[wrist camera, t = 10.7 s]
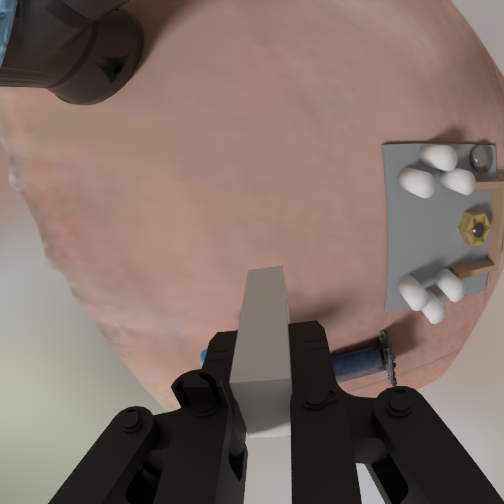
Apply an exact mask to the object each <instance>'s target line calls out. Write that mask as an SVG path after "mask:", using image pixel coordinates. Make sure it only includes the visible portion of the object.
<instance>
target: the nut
mask: <svg viewBox="0 0 504 504" xmlns="http://www.w3.org/2000/svg"><path fill="white" fill-rule="evenodd" d="M457 228H458V230H459V233H460V235H461V237H462V239H463V241H464V242H466V243H467V244H469V245H470V246H476V245H480V244H484V242H485V240H486V237H487V235H488V233H489V230H490V225H489V222H488V219H487V217H486V214H485V213H483V212H481V211H478V210H470V211H464V213H463V215H462V218H461V220H460V222H459V225H458V227H457Z"/></svg>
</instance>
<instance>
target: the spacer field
mask: <svg viewBox="0 0 504 504" xmlns="http://www.w3.org/2000/svg"><path fill="white" fill-rule="evenodd" d="M475 145H480V144H452V143H412V144H383V145H382V153H383V163H384V175H385V190H386V212H387V272H386V294H385V309H384V310H385V312H386V313H389V312H394V311H399V310H404V309H409V308H412V309H413V310H415V311H419V310H422V311H423V313H424V314H425V315H426V317H427V318H428V319H429V321H430V322H431V323H433V324H436V323H439V322H440V321H442V320H443V319H444V317H445V315H446V312H447V310H446V307H445V306H444V305H443V304H442V303H441V301H445V300H449V299H450V300H451V301H453V302H457V301H459V300H460V299H461V298H462V297H463V296H465V295H469V294H473V293H477V292H480V291H484V290H485V287H486V282H487V276H488V272H492V271H496V270H498V267H499V261H500V255H501V248H502V240H503V232H504V181H503V180H500V179H497V178H496V147H495V146H494V145H484V146H486V147H488V148H489V150H490V152H491V154H492V166H491V169H490V170H489V171H488V172H487V173H480V172H477V171H475V170H474V169H473V168H472V166H471V164H470V159H469V156H470V151H471V149H472V147H473V146H475ZM470 210H478V211H481V212H483V213H485V214H486V217H487V219H488V222H489V225H490V230H489V233H488V235H487V237H486V240H485V242H484V244H480V245H476V246H470V245H469V244H467V243H466V242H464V241H463V239H462V237H461V235H460V233H459V230H458V228H457V227H458V225H459V222H460V220H461V218H462V215H463V213H464V211H470Z"/></svg>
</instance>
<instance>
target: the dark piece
mask: <svg viewBox="0 0 504 504" xmlns="http://www.w3.org/2000/svg"><path fill="white" fill-rule="evenodd" d="M379 335H380V342H381V344H380V346H379V347H376V346H372V347H368V348H365V349H361V350H358V351H354V352H349V353H346V354H342V355H337V356H333V357H331V359H332V364H333V368H334V373H335V377H336V381H337V383H338V382H343V381H347V380H351V379H355V378H359V377H363V376H367V375H371V374H374V373H378V372H381V371H384V370H386V371H387V373H388V374H389V375H388V376H389V378H388V379H389V380H390V384H392V385H393V386H396V385H397V382H396V378H395V372H394V368H395V367H396V363H394V362H393V361H394V360H395V358H396V357H395V356H394V355H393V354H391V352H392V351H391V350H392V349H391V347H392V344H390V343H391V342H389V341H388V342H387V340H388V338H387V333H386V332H384V331H382V332H380V334H379Z"/></svg>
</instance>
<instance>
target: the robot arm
mask: <svg viewBox="0 0 504 504" xmlns="http://www.w3.org/2000/svg"><path fill="white" fill-rule="evenodd" d="M128 1H130V0H0V86H10V87H35V88H46V89H48V90H49V91H51V92H52V93H54V94H55V95H56V96H57V97H58V98H60V99H61V100H63V101H64V102H67V103H70V104H76V105H92V104H96V103H99V102H101V101H103V100H105V99H107V98H109V97H110V96H112V95H113V94H115V93H116V92H117V91H118V90H119V89H120V88H121V87H122V86H123V85H124V84H125V83H126V82H127V81H128V79H129V78H130V77H131V75H132V73H133V72H134V70H135V68H136V66H137V64H138V62H139V60H140V57H141V53H142V49H143V32H142V28H141V26H140V24H139V22H138V21H137V20H136V18H135V17H133V16H132V15H131V14H129V13H128V12H127V11H125V10H123V9H121V8H118V7H120V6H122V5H123V4H125V3H126V2H128ZM171 389H172V390H173V392H174V394H175V396H176V398H177V400H178V402H179V404H180V406H181V408H180V409H178V410H175V411H171V412H167V413H162V414H158V415H152V413H151V412H150V410H148V409H146V408H145V407H139V406H133V407H128V408H126V409H125V410H122V411H121V412H119V413H118V414H117V415H116V416H115V417H114V419H113V420H112V421H111V422H110V424H109V425H108V426H107V428H106V429H105V430H104V432H103V433H102V434H101V435H100V437H99V438H98V439H97V441H96V442H95V443H94V445H93V446H92V447H91V448H90V450H89V451H88V452H87V454H86V455H85V456H84V458H83V459H82V460H81V461H80V463H79V464H78V465H77V467H76V468H75V469H74V470H73V472H72V473H71V474H70V476H69V477H68V478H67V480H66V481H65V482H64V483H63V485H62V486H61V488H60V489H59V490H58V491H57V493H56V494H55V495H54V497H53V498H52V499H51V500H50V502H49V503H48V504H243V502H244V492H245V481H246V470H247V458H248V451H247V446H246V444H245V437H246V432H247V434H248V437H249V438H265V437H279V436H291V469H292V504H362V502H361V494H360V488H359V482H358V475H357V469H356V463H362V464H365V466H366V468H367V470H368V471H369V473H370V475H371V477H372V479H373V481H374V483H375V485H376V487H377V488H378V490H379V492H380V494H381V496H382V498H383V500H384V502H385V504H504V501H503V500H502V498H501V497H500V496H499V494H498V493H497V491H496V490H495V488H494V487H493V486H492V484H491V483H490V482H489V480H488V479H487V478H486V476H485V475H484V474H483V472H482V471H481V470H480V468H479V467H478V465H477V464H476V463H475V462H474V460H473V459H472V458H471V456H470V455H469V454H468V452H467V451H466V450H465V449H464V447H463V446H462V445H461V443H460V442H459V441H458V440H457V438H456V437H455V436H454V435H453V433H452V432H451V431H450V429H449V428H448V427H447V426H446V424H445V423H444V422H443V421H442V419H441V418H440V417H439V416H438V414H437V413H436V412H435V411H434V410H433V408H432V407H431V406H430V405H429V403H428V402H427V401H426V400H425V399H424V397H423V396H422V395H421V394H420V393H419V392H417V391H416V390H415V389H413V388H410V387H407V386H394V387H391V388H387V389H386V390H384V391H383V392H381V393H380V394H379V395H378V397H377V398H367V397H358V396H353V395H351V394H348V393H346V392H345V391H343V390H342V389H341V388H340V387H339V385H338V383H337V381H336V377H335V373H334V368H333V364H332V359H331V355H330V350H329V346H328V342H327V338H326V333H325V329H324V327H323V326H322V325H320V324H319V323H318V322H317V321H316V320H315V321H308V322H301V323H293V324H290V316H289V308H288V301H287V294H286V286H285V279H284V272H283V266H276V267H269V268H261V269H254V270H248V275H247V281H246V287H245V293H244V298H243V304H242V310H241V316H240V322H239V328H238V331H227V332H217V333H216V335H215V336H214V337H213V338H212V339H211V340H210V342H209V345H208V349H207V354H206V356H205V359H204V363H203V366H202V369H198V370H192V371H189V372H187V373H184V374H182V375H181V376H180V377H178V378H177V379H176V380H175V381H174V383H173V384H172V386H171Z"/></svg>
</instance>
